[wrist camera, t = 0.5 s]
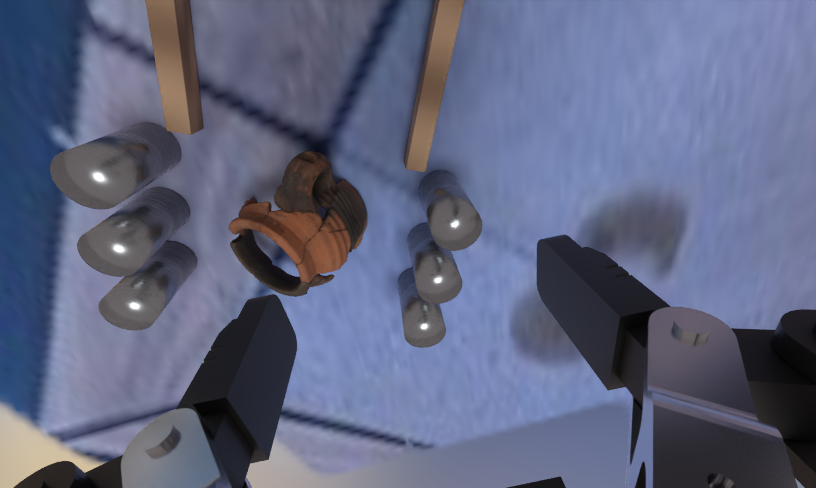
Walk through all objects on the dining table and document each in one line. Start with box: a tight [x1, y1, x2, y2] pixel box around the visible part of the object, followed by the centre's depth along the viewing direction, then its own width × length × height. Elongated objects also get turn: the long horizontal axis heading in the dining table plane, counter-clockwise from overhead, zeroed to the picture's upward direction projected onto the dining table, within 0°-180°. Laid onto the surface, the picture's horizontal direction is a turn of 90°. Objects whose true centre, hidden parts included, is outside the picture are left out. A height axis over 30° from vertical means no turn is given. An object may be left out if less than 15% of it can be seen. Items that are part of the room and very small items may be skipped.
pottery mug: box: [229, 151, 367, 297], centre depth 26 cm, size 12×10×8 cm
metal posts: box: [50, 123, 482, 348], centre depth 26 cm, size 14×26×7 cm, turn 79°
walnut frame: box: [145, 0, 465, 172], centre depth 22 cm, size 12×18×2 cm
